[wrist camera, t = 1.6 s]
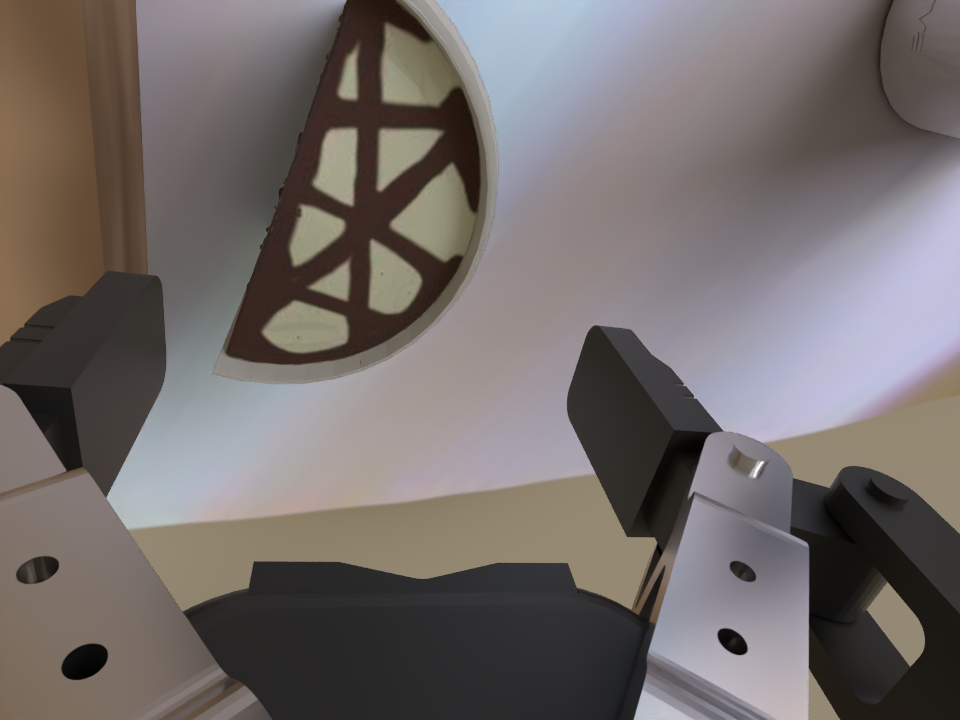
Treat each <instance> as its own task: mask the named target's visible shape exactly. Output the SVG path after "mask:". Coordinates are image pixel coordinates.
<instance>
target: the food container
mask: <svg viewBox="0 0 960 720" xmlns="http://www.w3.org/2000/svg"><path fill="white" fill-rule="evenodd" d="M339 23H340V24H339V27H338V29H337V33H336V36H335V39H334V41H333V44H332V47H331V50H330V52H329V53H328V54H327V56H326V60H327V62H326V64H325V67H324V70H323V72H322V74H321V76H320V82H319V84H318V86H317V88H316V89H317V90H316V93H315V96H314V99H313V102H312V105H311V109H310V112H309V113H308V118H307V121H306V124H305V126H304V129H303V132H301V133H300V134H299V138H298V143H297V147H296V150H295V155H294V158H293V161H292V164H291V167H290V170H289V173H288V176H287V178H286V179H285V181H284V186H283V188H281V189H280V190H279V201H278V204H277V206H276V207H275V212H274V215H273V218H272V221H271V224H270V226H269V227H268V228H266V231H267V232H268V233H267V236H266V238H265V239H264V241H263V244H262V245H261V246H260V249H261V251H260V254H259V256H258V259H257V262H256V265H255V268H254V271H253V274H252V276H251V279H250V281H249V283H248V284H247V289H246V291H245V293H244V296H243V298H242V301H241V303H240V306H239V308H238V311H237V313H236V316H235V318H234V320H233V323H232V325H231V328H230V330H229V333H228V335H227V338H226V340H225V343H224V345H223V348H222V350H221V352H220V355H219V357H218V360H217V362H216V365H215V367H214V370H213V372H212V374H215V375H219V376H223V377H228V378H232V379H236V380H241V381H249V382H259V383H268V384H302V383H310V382H317V381H324V380H331V379H336V378H339V377H343V376H346V375H349V374H353V373H356V372H360V371H363V370H365V369H367V368H370V367H372V366H374V365H376V364H379V363H381V362H383V361H385V360H388V359H389V358H391V357H393V356H394V355H396V354H397V353H399V352H401V351H402V350H404V349H405V348H407V347H408V346H410V345H412V344H413V343H414V342H415V341H417V340H418V339H419V338H420V337H421V336H422V335H424V334H425V333H426V332H427V331H428V330H429V329H431V328H432V327H433V326H434V325H435V324H436V323H437V322H439V321H440V319H441V318H442V317H443V316H444V315H445V314H446V313H447V311H448V310H449V309H450V308H451V307H452V306H453V305H454V303H455V302H456V301H457V300H458V299H459V297H460V296H461V294H462V292H463V291H464V289H465V288H466V286H467V284H468V283H469V281H470V280H471V278H472V276H473V275H474V273H475V271H476V268H477V266H478V264H479V261H480V259H481V257H482V254H483V252H484V250H485V247H486V245H487V241H488V237H489V233H490V229H491V225H492V221H493V217H494V212H495V203H496V193H497V181H498V170H499V164H498V149H497V134H496V129H495V124H494V119H493V115H492V110H491V106H490V101H489V97H488V94H487V92H486V89H485V86H484V84H483V81H482V78H481V76H480V73H479V71H478V68H477V65H476V63H475V60H474V59H473V57H472V55H471V53H470V51H469V50H468V48H467V46H466V44H465V43H464V41H463V39H462V37H461V35H460V34H459V32H458V30H457V28H456V26H455V25H454V24H453V22H452V21H451V20H450V19H449V17H448V16H447V15H446V13H445V12H444V11H443V9H442V8H441V7H440V6H439V4H438V3H437V2H436V0H347V1H346V3H345V6H344V9H343V14H342V15H341V16H340V18H339Z"/></svg>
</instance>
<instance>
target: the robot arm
mask: <svg viewBox="0 0 960 720" xmlns="http://www.w3.org/2000/svg"><path fill="white" fill-rule="evenodd" d="M880 70H881V76H882V82H883V88H884V91H885V93H886V96H887V98H888V100H889V102H890V104H891V107H892V108H893V109H894V110H895V111H896V112H897V113H898V115H899V116H900V117H901V118H902V119H903V120H904V121H906V122H908V123H910V124H911V125H913V126H915V127H917V128H919V129H923V130H928V131H932V132H936V133H940V134H944V135H948V136H952V137H956V138H960V0H894V1H893V3H892V6H891V8H890V11H889V14H888V16H887V20H886V24H885V29H884V34H883V38H882V43H881V61H880ZM165 371H166V343H165V326H164V309H163V293H162V285H161V281H160V279H159V277H158V276H152V275H143V274H134V273H125V272H116V271H107V272H106V273H104V274H103V276H102V277H101V278H100V279H99V280H98V281H97V282H96V283H95V284H94V285H93V286H92V287H91V289H90V290H89V291H88V292H87V293H86V294H85V295H84V296H73V295H69V296H66V297H64V298H62V299H59V300H57V301H55V302H53V303H50V304H48V305H46V306H43V307H41V308H40V309H39V310H38V311H37V312H36V313H35V314H34V315H33V316H32V317H31V318H30V319H29V320H28V321H26V322H25V323H24V327H20V328H19V329H18V330H17V331H16V332H15V333H14V334H13V335H12V336H11V337H10V341H6V342H5V343H4V344H3V345H2V346H1V347H0V720H808V675H809V671H808V670H809V669H810V671H811V673H812V674H813V676H814V678H815V679H816V681H817V682H818V684H819V686H820V687H821V689H822V690H823V692H824V694H825V696H826V697H827V699H828V700H829V702H830V704H831V705H832V707H833V709H834V710H835V712H836V714H837V715H838V717H839V718H840V720H960V534H959V533H958V532H957V531H956V530H955V529H954V528H953V527H952V526H951V525H950V524H948V523H947V522H946V521H945V520H944V519H943V518H942V517H941V516H940V515H939V514H938V513H937V512H936V511H935V510H934V509H933V508H932V507H931V506H930V505H928V504H927V503H926V502H925V501H924V500H923V499H922V498H921V497H920V496H919V495H918V494H917V493H915V492H914V491H913V490H911V489H910V488H909V487H907V486H906V485H904V484H902V483H901V482H899V481H897V480H895V479H894V478H892V477H889V476H888V475H885V474H883V473H880V472H878V471H875V470H872V469H868V468H864V467H859V466H849V467H845V468H843V469H842V470H841V471H840V473H839V474H838V476H837V477H836V479H835V480H834V482H833V484H832V485H831V487H830V488H827V487H823V486H820V485H816V484H813V483H808V482H805V481H802V480H798V479H794V478H793V474H792V471H791V468H790V467H789V465H788V464H787V462H786V461H785V460H784V459H783V458H782V457H781V456H780V455H779V454H778V453H776V452H775V451H774V450H772V449H771V448H769V447H767V446H766V445H764V444H763V443H761V442H759V441H757V440H755V439H752V438H750V437H747V436H744V435H741V434H737V433H732V432H724V431H723V430H722V429H721V428H720V427H719V425H718V424H717V423H716V422H715V421H714V419H713V418H712V417H711V416H710V415H709V413H708V412H707V411H706V410H705V409H704V407H703V406H702V405H701V404H700V403H699V401H698V400H697V399H694V395H693V394H692V393H691V392H690V390H689V389H688V388H687V387H686V386H683V384H684V383H683V382H682V381H681V380H680V378H679V377H678V376H677V375H676V374H675V372H674V371H673V370H672V369H671V368H670V367H668V366H667V365H666V364H664V363H663V362H661V361H660V360H658V359H657V358H656V357H654V356H653V355H651V353H650V352H649V351H648V350H647V349H646V347H645V346H644V345H643V344H642V342H641V341H640V340H639V339H638V337H637V336H636V335H635V334H634V332H633V331H632V330H630V329H623V328H614V327H605V326H593V327H592V328H591V329H590V330H589V332H588V334H587V336H586V338H585V342H584V345H583V348H582V351H581V354H580V357H579V360H578V363H577V366H576V369H575V372H574V376H573V379H572V382H571V385H570V388H569V392H568V397H567V412H568V417H569V420H570V422H571V424H572V426H573V428H574V430H575V432H576V434H577V436H578V438H579V440H580V442H581V444H582V446H583V448H584V450H585V452H586V454H587V456H588V458H589V460H590V463H591V465H592V467H593V469H594V471H595V473H596V475H597V477H598V479H599V481H600V483H601V485H602V487H603V489H604V491H605V493H606V495H607V497H608V499H609V501H610V503H611V505H612V507H613V509H614V511H615V513H616V515H617V517H618V520H619V522H620V524H621V526H622V527H623V529H624V531H625V534H626V536H627V537H655V539H656V541H657V543H656V546H655V548H654V550H653V552H652V554H651V556H650V558H649V561H648V564H647V567H646V569H645V572H644V575H643V578H642V581H641V584H640V586H639V590H638V592H637V595H636V598H635V600H634V603H633V606H632V609H631V610H630V609H628V608H626V607H624V606H623V605H621V604H619V603H617V602H615V601H613V600H611V599H608V598H606V597H603V596H601V595H598V594H596V593H592V592H589V591H587V590H584V589H579V588H576V585H575V582H574V579H573V577H572V574H571V571H570V568H569V566H568V564H567V563H495V564H491V565H487V566H482V567H478V568H474V569H469V570H465V571H460V572H456V573H452V574H447V575H443V576H438V577H434V578H429V579H416V578H411V577H406V576H401V575H396V574H392V573H387V572H383V571H378V570H373V569H369V568H363V567H359V566H355V565H350V564H346V563H341V562H254V564H253V569H252V574H251V579H250V585H249V588H247V589H243V590H239V591H234V592H231V593H228V594H225V595H221V596H218V597H215V598H212V599H210V600H207V601H205V602H202V603H200V604H198V605H196V606H193V607H191V608H189V609H187V610H185V611H183V612H182V610H181V609H180V607H179V606H178V604H177V603H176V601H175V600H174V598H173V597H172V595H171V594H170V592H169V591H168V590H167V588H166V587H165V585H164V583H163V582H162V581H161V579H160V578H159V576H158V575H157V573H156V572H155V570H154V569H153V567H152V566H151V564H150V563H149V561H148V560H147V558H146V557H145V555H144V554H143V552H142V551H141V549H140V548H139V546H138V545H137V543H136V542H135V541H134V539H133V537H132V536H131V534H130V533H129V532H128V530H127V529H126V527H125V526H124V524H123V523H122V521H121V520H120V518H119V517H118V515H117V514H116V512H115V511H114V509H113V508H112V506H111V505H110V503H109V502H108V500H107V499H106V497H107V495H108V493H109V491H110V489H111V487H112V485H113V483H114V481H115V479H116V477H117V475H118V473H119V471H120V469H121V467H122V465H123V463H124V461H125V460H126V458H127V456H128V454H129V452H130V450H131V448H132V446H133V444H134V442H135V440H136V438H137V436H138V434H139V432H140V430H141V428H142V426H143V424H144V422H145V420H146V418H147V416H148V414H149V412H150V410H151V408H152V407H153V405H154V403H155V401H156V399H157V397H158V395H159V393H160V391H161V388H162V385H163V382H164V377H165ZM887 582H888V583H889V584H890V585H891V586H892V587H893V589H894V590H895V591H896V592H897V593H898V594H899V596H900V597H901V598H902V599H903V600H904V602H905V603H906V604H907V605H908V607H909V608H910V609H911V610H912V611H913V613H914V614H915V615H916V616H917V617H918V619H919V621H920V623H921V625H922V627H923V631H924V635H925V647H924V651H923V653H922V654H921V656H920V657H919V658H918V659H917V660H916V662H915V663H914V664H913V665H912V666H911V667H910V666H909V665H908V664H907V662H906V661H905V660H904V658H903V657H902V656H901V654H900V653H899V652H898V650H897V649H896V648H895V647H894V645H893V644H892V643H891V642H890V640H889V639H888V637H887V636H886V635H885V633H884V632H883V631H882V630H881V628H880V627H879V626H878V624H877V623H876V622H875V620H874V619H873V618H872V617H871V615H870V614H869V613H868V611H867V610H866V609H867V608H868V607H869V606H870V604H871V603H872V601H873V600H874V599H875V597H877V595H878V594H879V593H880V591H881V590H882V589H883V587H884V586H885V585H886V584H887Z"/></svg>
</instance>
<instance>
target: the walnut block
mask: <svg viewBox="0 0 960 720" xmlns="http://www.w3.org/2000/svg"><path fill="white" fill-rule="evenodd" d="M107 271H116V272H125V273H134V274H143V275H148V263H147V241H146V219H145V197H144V175H143V153H142V131H141V109H140V87H139V65H138V43H137V21H136V0H0V347H1V346H2V345H3V344H4V343H5V342H6V341H10V337H11V336H12V335H13V334H14V333H15V332H16V331H17V330H18V329H19V328H20V327H24V323H25V322H26V321H28V320H29V319H30V318H31V317H32V316H33V315H34V314H35V313H36V312H37V311H38V310H39V309H40V308H41V307H43V306H46V305H48V304H50V303H53V302H55V301H57V300H59V299H62V298H64V297H66V296H69V295H73V296H84V295H85V294H86V293H87V292H88V291H89V290H90V289H91V287H92V286H93V285H94V284H95V283H96V282H97V281H98V280H99V279H100V278H101V277H102V276H103V274H104V273H106V272H107Z"/></svg>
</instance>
